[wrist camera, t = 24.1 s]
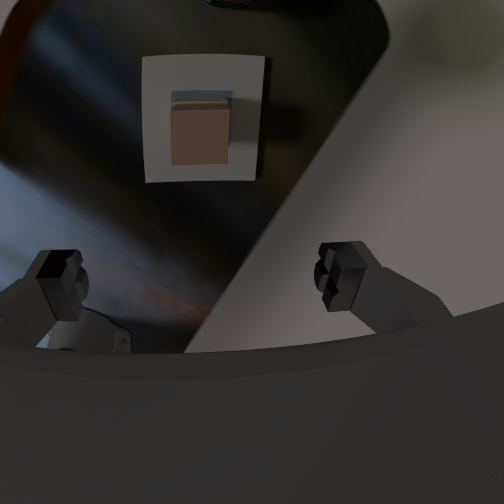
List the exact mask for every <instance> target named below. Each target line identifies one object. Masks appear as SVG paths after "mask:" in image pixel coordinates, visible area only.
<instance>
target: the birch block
mask: <svg viewBox="0 0 504 504" xmlns="http://www.w3.org/2000/svg"><path fill="white" fill-rule="evenodd" d="M199 103H226V105H227V106H228V101H227V99H226V98H225V97H182V98H176V99H175V100H174V101H173V107H174V106H175V104H199Z"/></svg>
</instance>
